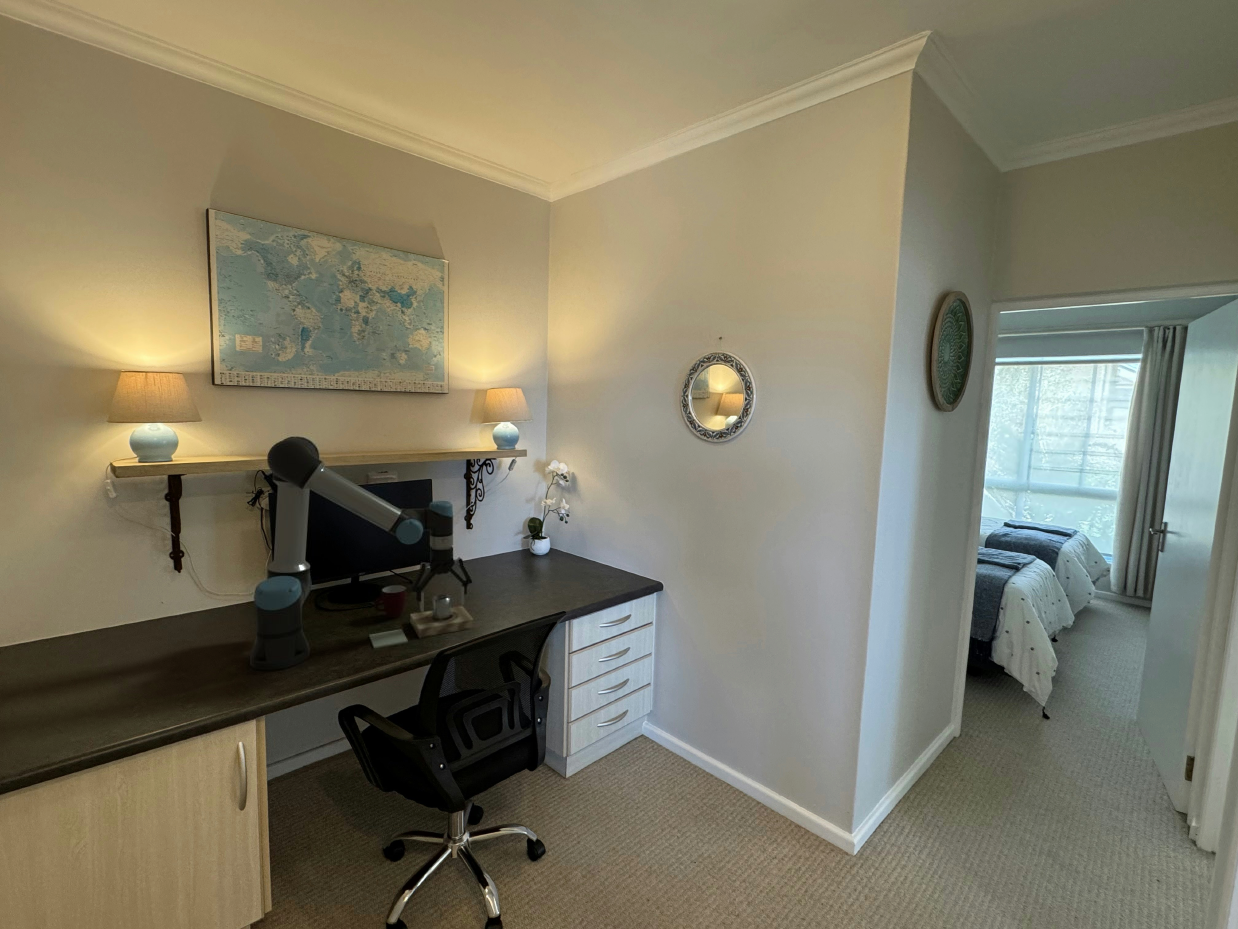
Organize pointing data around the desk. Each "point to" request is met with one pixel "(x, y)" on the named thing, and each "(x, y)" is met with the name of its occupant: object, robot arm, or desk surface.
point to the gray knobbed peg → (441, 607)
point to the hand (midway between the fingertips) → (442, 607)
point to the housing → (441, 622)
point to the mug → (392, 600)
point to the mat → (388, 638)
